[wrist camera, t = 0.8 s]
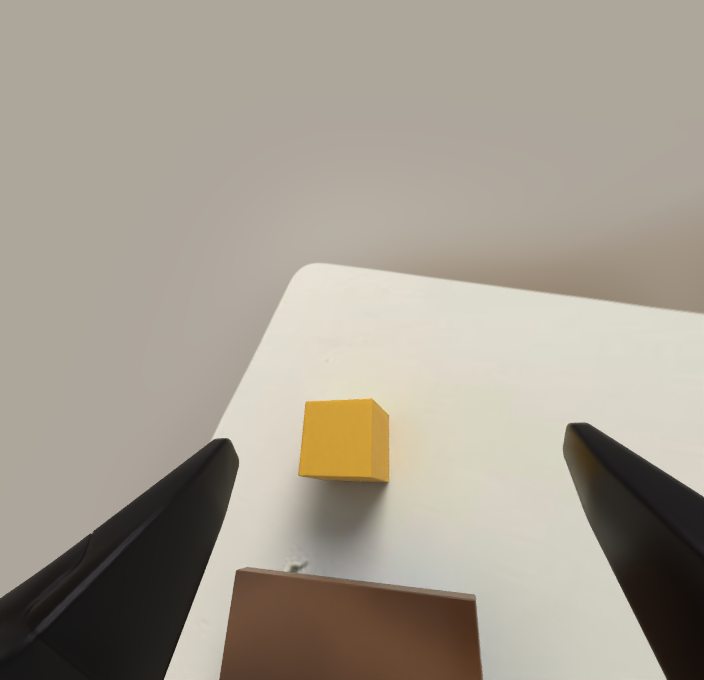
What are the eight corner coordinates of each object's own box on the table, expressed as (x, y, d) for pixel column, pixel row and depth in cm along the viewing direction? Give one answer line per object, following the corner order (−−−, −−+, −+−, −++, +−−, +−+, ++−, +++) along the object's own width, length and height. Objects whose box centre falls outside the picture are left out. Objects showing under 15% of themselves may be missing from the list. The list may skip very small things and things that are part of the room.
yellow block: (389, 482, 25) (371, 477, 21) (326, 480, 27) (297, 475, 23) (388, 414, 28) (372, 398, 23) (330, 416, 29) (305, 401, 25)
